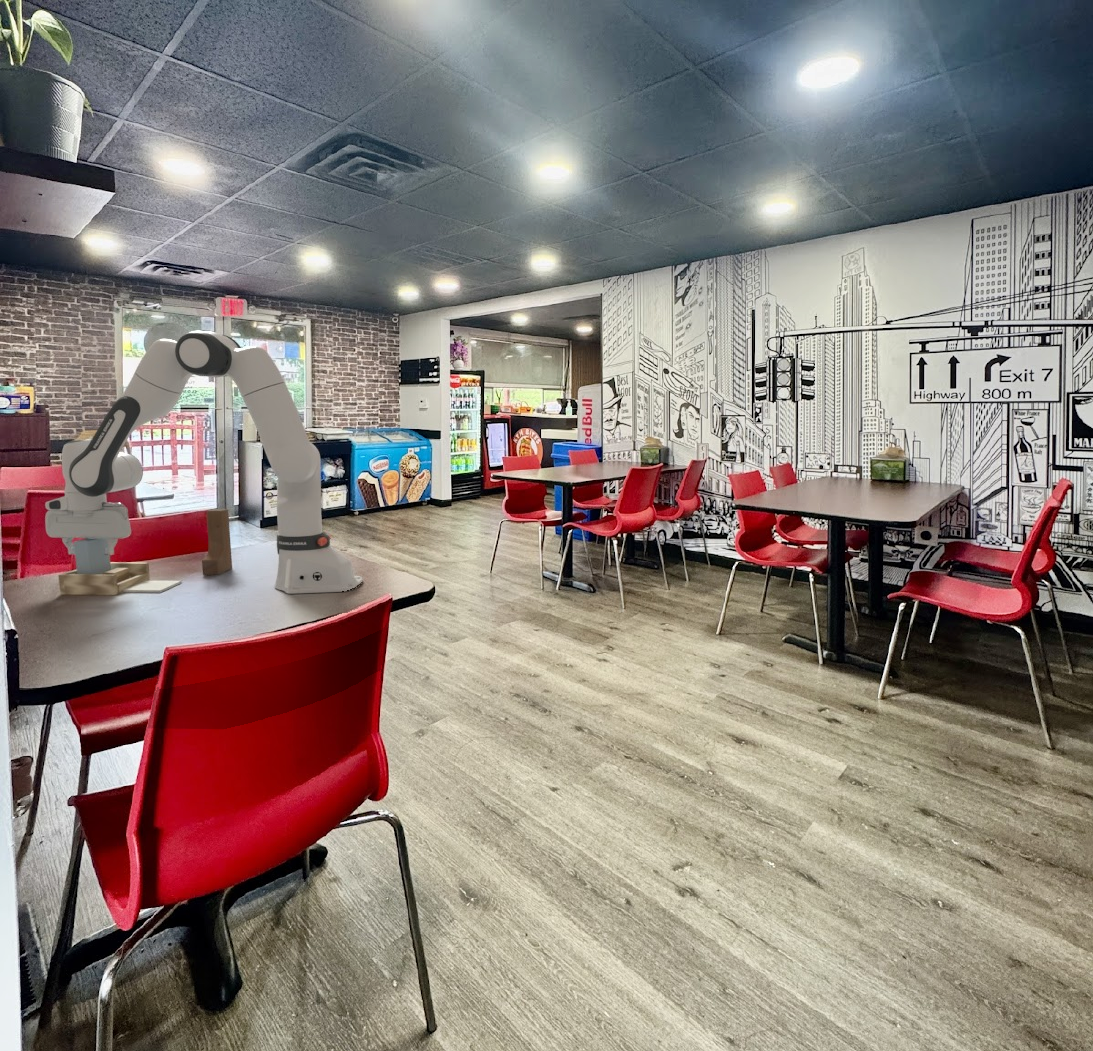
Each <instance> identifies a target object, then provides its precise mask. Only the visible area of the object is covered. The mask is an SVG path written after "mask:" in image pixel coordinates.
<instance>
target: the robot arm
mask: <svg viewBox="0 0 1093 1051" xmlns="http://www.w3.org/2000/svg"><path fill="white" fill-rule="evenodd" d="M194 375H195V376H198V377H209V378H221V377H224V378H225V377H229V378H230V379H231V380H232V381H233V383H235V385H236V387H237V389H238V391H239V393H240V395H241V397H242V400H243V402H244V404H245V406H246V408H247V410H248V412H249V415H250V417H251V418H252V421H253V423H254V425H255V427H256V430H257V433H258V436H259V440H260V441H261V444H262V447H263V450H264V452H265V455H266V458H267V461H268V463H269V464H270V467H271V471H273V473H274V475H275V476H276V477H277V496H276V517H277V534H276V550H277V554H278V555H277V556H278V565H277V574H276V580H275V584H274V588H275V589H276V590H279V591H283V592H284V593H286V594H288V595H289V594H312V593H313V594H314V593H316V594H318V593H320V594H321V593H342V591H344V592H348V591H347V590H349V591H351V590H350V589H352V588H354V587H356V586H357V585H358V584H359V583H361V582H362V583H363V577H362V576H360V575H355V573H354V568H353V564H352V562H351V560H350V559H349V558H348V557H347V556H345V555H344V554H342V553H341V552H339V551H338V550H336V549H335V548H333V547H332V546H331V539H332V534H329V535H328V534H326V533H325V532H324V531H323V521H322V520H323V519H322V488H321V487H322V477H321V476H322V473H321V472H322V470H321V469H322V468H321V467H322V466H321V462H322V461H321V460H322V459H321V455H320V451H319V449H318V448H317V446H316V445H314V443H312V442H311V441H310V440H309V437H308V434H307V431H306V429H305V427H304V425H303V421H302V419H301V416H300V413H299V411H298V408H297V405H296V403H295V401H294V400H293V396H292V395H291V392H290V391H289V388H288V386H287V383H286V382H285V379H284V377H283V375H282V373H281V372H280V370H279V368H278V366H277V365H276V363H275V362H274V360H273V358H272V357H271V356H270V354H269V353H268V351H267V350H265V348H263V347H259V346H255V345H252V346H251V345H249V346H244V347H242V346H240V344H239V343H238V342H237V341H236V340H235V339H233V338H232V337H230V336H228V335H226V334H221V333H217V332H216V331H210V330H209V331H208V330H205V331H203V330H193V331H190V332H187V333H185V334H183V335H182V336H181V337H180V338H179V339H178V340H177V341H176V340H173V339H169V338H161V339H157V340H155V341H154V342H153V343H152V344H151V345H150V346H149V348H148V349H147V351H146V352H145V354H144V355H143V357H142V358H141V360H139V363H138V365H137V367H136V369H135V371H134V373H133V375H132V377H131V379H130V381H129V382H128V385H127V386H126V388H125V389H124V391H123V393H122V394H121V395H120V396H119V398H118V399H117V400H116V401H115V403H114V404H112V406H111V408H110V409H109V410H108V412H107V414H106V415H105V417H104V419H103V420H102V422H101V423H100V425H99V427H98V429H97V430H96V432H95V433H94V436H93V437H92V438H83V439H76V440H71V441H68V442H67V443H65V444H63V448H62V451H61V469H62V470H61V471H62V475H63V476H62V477H63V479H64V482H65V485H64V486H65V487H64V491H63V492H64V496H61V497H58V498H54V499H51V500H49V501H46V502H45V504H44V506H45V509H46V510H47V512H46V513H45V518H44V519H45V520H44V522H45V532H46V534H47V536H48V537H50V538H61V539H62V543H63V545H64V546H65V547H66V548H67V554H68V555H75V549H74V542H73V540H74V538H75V539H76V538H77V539H85V538H107V542H108V544H109V545H108V547H107V548H105V549H104V554H105V555H110V556H112V555H115V547H116V545H117V544H118V540H120V539H121V540H122V539H125V538H128V537H129V536H131V534H132V529H131V528H132V527H131V523H130V518H129V510H128V507H126V506H125V505H124V504H123V503H121V502H108V501H107V499H108V498H107V494H108V493H113V492H119V491H123V490H124V491H125V490H128V489H132V488H135V487H136V486H137V485H139V484H140V482H141V481H142V479H143V475H144V469H143V466H142V464H141V461H139V459H138V457H136V456H135V455H133V454H130V453H126V452H122V449H123V448H124V446H125V444H126V442H127V441H128V439H129V438H130V436H131V435H132V434H133V432H135V430H137V429H138V428H139V427H141V426H143V425H145V424H147V423H150V422H152V421H154V420H156V419H157V420H158V419H159V418H163V417H165V416H166V415H168V414H170V413H171V411H172V410H173V409H174V408H175V406H176V405H177V404H178V402H179V400H180V398H181V396H182V393H183V392H184V390H185V387H186V386H187V383H188V381H189V379H190V378H191V377H192V376H194ZM362 583H361V584H362ZM356 588H357V587H356ZM352 590H353V589H352Z"/></svg>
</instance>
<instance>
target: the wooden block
mask: <svg viewBox="0 0 1093 1051" xmlns="http://www.w3.org/2000/svg"><path fill="white" fill-rule="evenodd" d="M205 514H206V524H207V526H206V527H207V537H208V538H207V540H208V541H207V542H208V551H207V554H206V557H204V558H203V559H202V561H201V568H202V575H203V576H220V575H222V574H224V573H226V572H228V571H230V570H232V569H233V560H232V548H231V546H232V545H231V544H232V543H231V532H230V531H231V530H230V518H229V517H230V516H229V509H228V508H212V509H209V510H208V509H207V510H206V513H205Z"/></svg>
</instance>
